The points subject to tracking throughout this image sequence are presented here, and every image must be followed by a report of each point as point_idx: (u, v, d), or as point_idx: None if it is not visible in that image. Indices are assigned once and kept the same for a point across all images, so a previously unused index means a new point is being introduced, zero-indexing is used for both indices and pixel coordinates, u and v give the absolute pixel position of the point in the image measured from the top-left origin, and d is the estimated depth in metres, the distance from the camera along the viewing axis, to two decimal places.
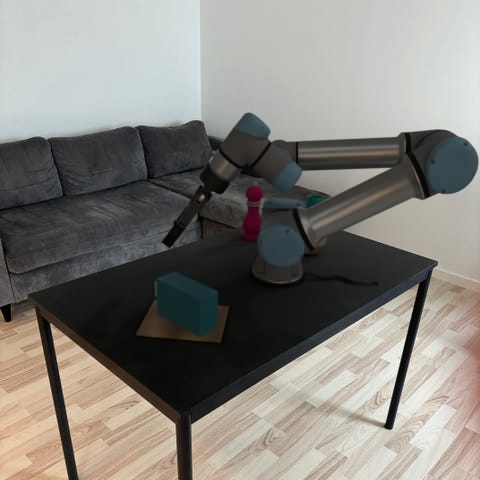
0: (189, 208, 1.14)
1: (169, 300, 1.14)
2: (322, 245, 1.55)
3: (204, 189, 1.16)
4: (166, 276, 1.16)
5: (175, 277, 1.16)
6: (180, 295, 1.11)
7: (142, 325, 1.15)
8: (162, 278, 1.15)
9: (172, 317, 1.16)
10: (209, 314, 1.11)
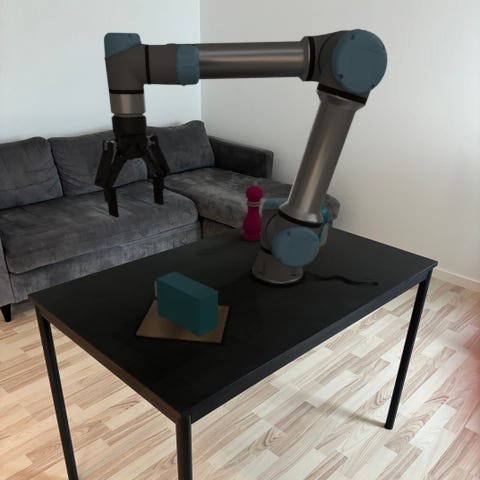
0: (100, 162, 1.04)
1: (169, 300, 1.14)
2: (322, 245, 1.55)
3: (115, 138, 1.05)
4: (166, 276, 1.16)
5: (175, 277, 1.16)
6: (180, 295, 1.11)
7: (142, 325, 1.15)
8: (162, 278, 1.15)
9: (172, 317, 1.16)
10: (209, 314, 1.11)
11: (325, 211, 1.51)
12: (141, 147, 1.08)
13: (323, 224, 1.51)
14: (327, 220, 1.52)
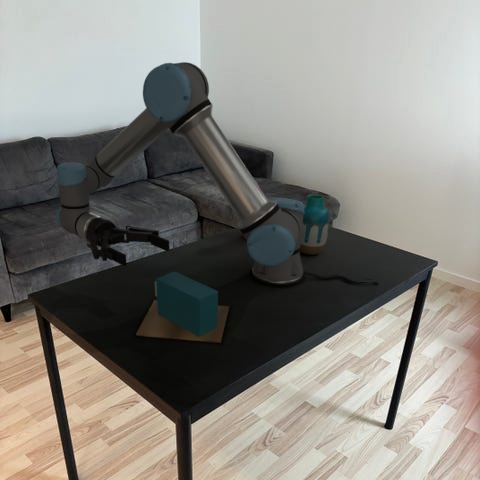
0: (91, 250, 1.20)
1: (169, 300, 1.14)
2: (322, 245, 1.55)
3: None
4: (166, 276, 1.16)
5: (175, 277, 1.16)
6: (180, 295, 1.11)
7: (142, 325, 1.15)
8: (162, 278, 1.15)
9: (172, 317, 1.16)
10: (209, 314, 1.11)
11: (325, 211, 1.51)
12: (115, 229, 1.26)
13: (323, 224, 1.51)
14: (327, 220, 1.52)
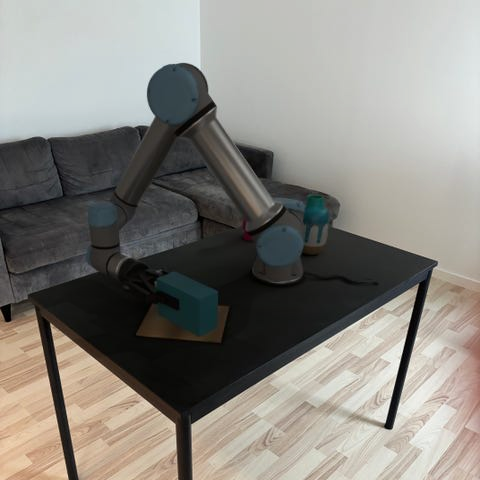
0: (135, 295, 1.17)
1: None
2: (322, 245, 1.55)
3: None
4: (166, 276, 1.16)
5: (175, 277, 1.16)
6: (180, 294, 1.11)
7: (142, 325, 1.15)
8: (162, 278, 1.15)
9: (172, 317, 1.16)
10: (209, 314, 1.11)
11: (325, 211, 1.51)
12: (148, 270, 1.23)
13: (323, 224, 1.51)
14: (327, 220, 1.52)
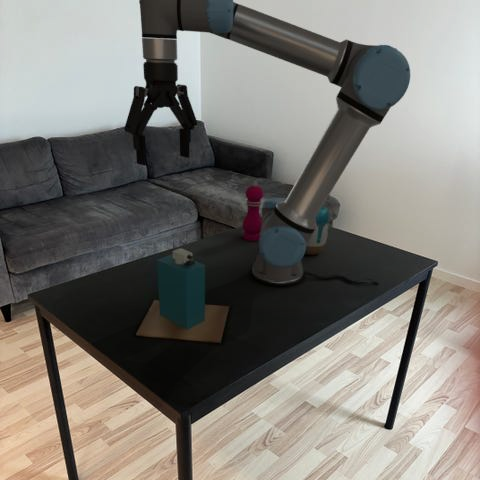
0: (131, 108, 1.05)
1: (174, 286, 1.11)
2: (322, 245, 1.55)
3: (146, 84, 1.06)
4: (194, 272, 1.09)
5: (198, 279, 1.11)
6: (183, 304, 1.12)
7: (142, 325, 1.15)
8: (189, 275, 1.08)
9: (161, 282, 1.14)
10: None
11: (325, 211, 1.51)
12: (171, 95, 1.09)
13: (323, 224, 1.51)
14: (327, 220, 1.52)
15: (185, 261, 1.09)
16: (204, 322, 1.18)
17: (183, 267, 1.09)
